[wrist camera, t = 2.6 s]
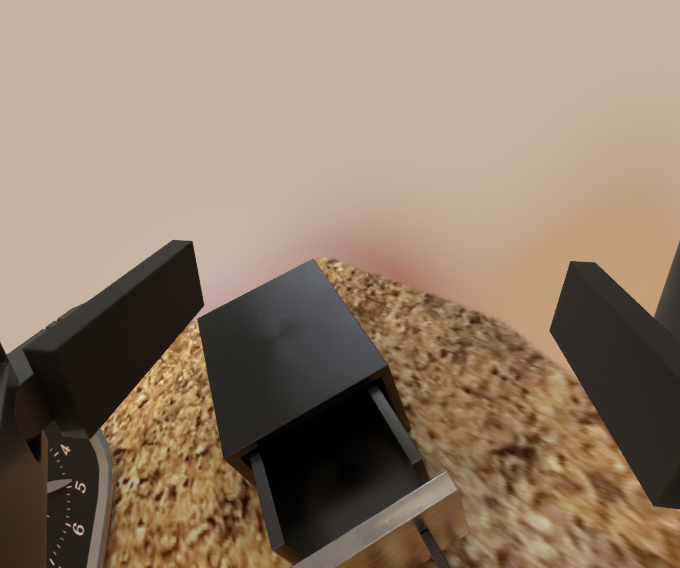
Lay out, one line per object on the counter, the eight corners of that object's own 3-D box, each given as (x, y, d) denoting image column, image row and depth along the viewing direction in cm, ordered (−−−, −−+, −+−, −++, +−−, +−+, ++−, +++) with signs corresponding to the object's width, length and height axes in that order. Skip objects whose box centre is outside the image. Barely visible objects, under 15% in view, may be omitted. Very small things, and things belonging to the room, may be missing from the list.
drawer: (516, 606, 23) (516, 575, 18) (347, 723, 22) (296, 724, 17) (372, 379, 37) (350, 326, 32) (264, 441, 36) (223, 396, 31)
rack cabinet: (411, 429, 34) (388, 364, 27) (279, 509, 32) (223, 459, 26) (340, 320, 45) (313, 258, 39) (241, 374, 44) (196, 318, 38)
